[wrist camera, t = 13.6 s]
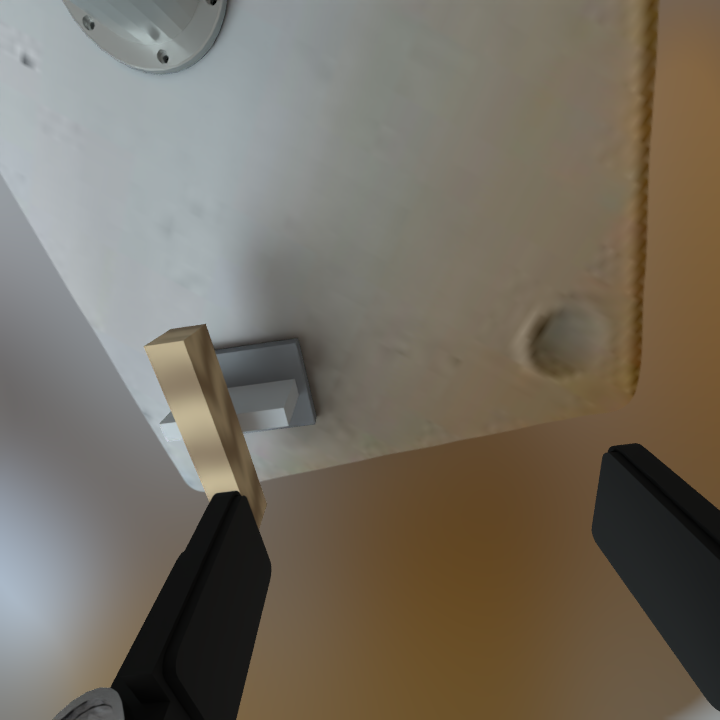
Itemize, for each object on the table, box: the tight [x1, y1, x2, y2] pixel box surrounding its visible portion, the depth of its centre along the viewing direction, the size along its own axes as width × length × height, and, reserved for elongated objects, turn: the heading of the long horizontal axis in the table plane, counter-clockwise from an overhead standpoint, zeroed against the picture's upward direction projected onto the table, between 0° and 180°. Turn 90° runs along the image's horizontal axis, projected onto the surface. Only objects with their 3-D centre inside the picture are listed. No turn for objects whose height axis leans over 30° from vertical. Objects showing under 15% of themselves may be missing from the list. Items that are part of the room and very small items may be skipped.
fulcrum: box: [159, 338, 316, 442], centre depth 36 cm, size 10×14×8 cm
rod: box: [144, 324, 267, 529], centre depth 31 cm, size 20×3×4 cm, turn 9°
